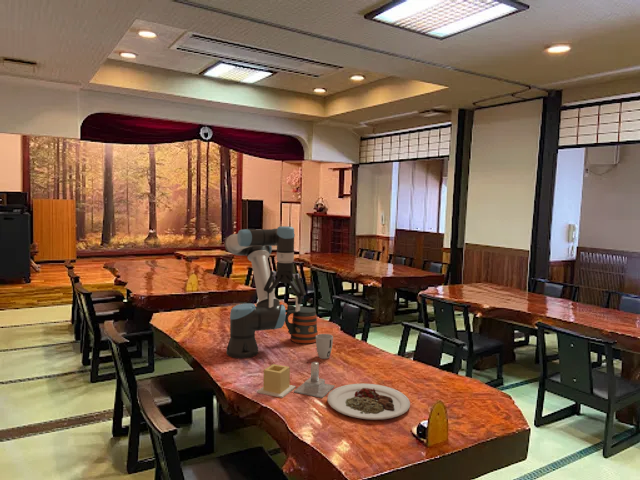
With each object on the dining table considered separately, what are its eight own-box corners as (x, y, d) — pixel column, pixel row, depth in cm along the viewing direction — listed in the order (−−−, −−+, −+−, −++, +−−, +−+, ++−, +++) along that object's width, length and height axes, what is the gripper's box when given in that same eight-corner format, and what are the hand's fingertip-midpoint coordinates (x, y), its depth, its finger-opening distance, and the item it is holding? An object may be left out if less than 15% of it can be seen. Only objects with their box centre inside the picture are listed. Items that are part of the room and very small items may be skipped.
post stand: (293, 392, 181) (294, 365, 180) (307, 381, 192) (307, 356, 191) (322, 398, 176) (322, 370, 176) (334, 386, 187) (335, 360, 187)
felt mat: (257, 392, 180) (257, 391, 180) (271, 382, 190) (271, 381, 190) (282, 397, 176) (282, 396, 176) (295, 387, 186) (295, 386, 186)
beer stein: (294, 347, 236) (294, 308, 234) (278, 340, 248) (278, 303, 246) (323, 341, 248) (324, 303, 246) (307, 334, 259) (307, 298, 258)
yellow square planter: (263, 390, 181) (263, 369, 181) (273, 383, 188) (273, 364, 187) (280, 393, 178) (280, 373, 178) (289, 386, 185) (289, 367, 184)
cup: (330, 360, 218) (331, 339, 217) (313, 359, 220) (314, 338, 219) (333, 355, 226) (334, 334, 225) (317, 353, 228) (317, 333, 227)
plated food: (352, 430, 152) (352, 420, 152) (313, 395, 180) (314, 386, 179) (427, 414, 165) (427, 405, 165) (380, 383, 192) (381, 375, 192)
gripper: (256, 260, 209) (255, 307, 211) (306, 265, 198) (305, 314, 201) (265, 258, 216) (264, 303, 218) (314, 263, 205) (313, 310, 207)
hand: (284, 309), depth 209 cm, fingers open, 13 cm apart
